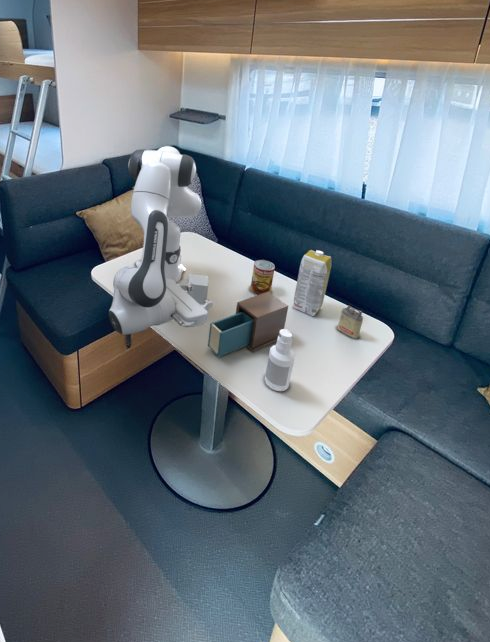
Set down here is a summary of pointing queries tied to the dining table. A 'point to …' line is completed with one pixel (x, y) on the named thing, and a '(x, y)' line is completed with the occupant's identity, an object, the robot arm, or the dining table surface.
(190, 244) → the dining table surface
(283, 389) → the spray bottle
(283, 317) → the drawer cabinet
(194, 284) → the white packaging box
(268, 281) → the canned food
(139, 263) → the robot arm
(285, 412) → the dining table surface
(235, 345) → the container
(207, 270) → the dining table surface
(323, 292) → the juice carton
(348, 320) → the lighter
